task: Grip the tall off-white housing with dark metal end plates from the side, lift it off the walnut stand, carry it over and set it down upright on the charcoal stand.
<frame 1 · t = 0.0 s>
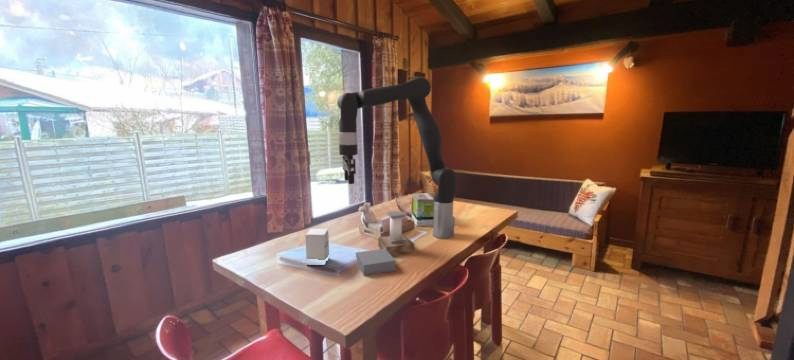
hand: (349, 182, 136), 29 cm above the table, tool pointing down, fingers open, 8 cm apart
stand a: (395, 249, 140), on the table
supplement box: (318, 262, 127), on the table
tea box: (422, 222, 178), on the table
stand b: (375, 266, 123), on the table
housing: (395, 240, 139), point 4 cm above the table, touching stand a
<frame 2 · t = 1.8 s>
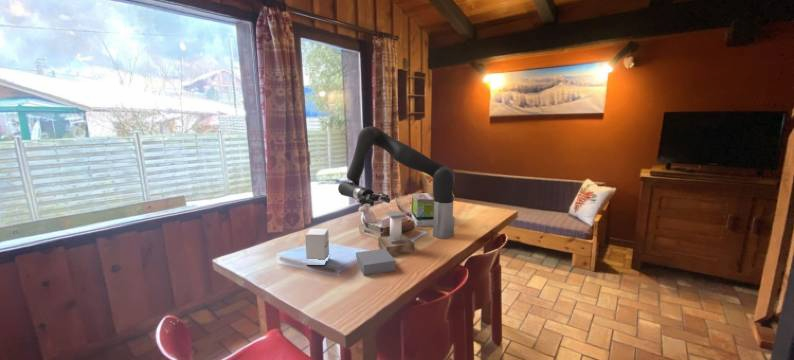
hand: (381, 202, 145), 19 cm above the table, tool horizontal, fingers open, 8 cm apart
nothing on the table moved.
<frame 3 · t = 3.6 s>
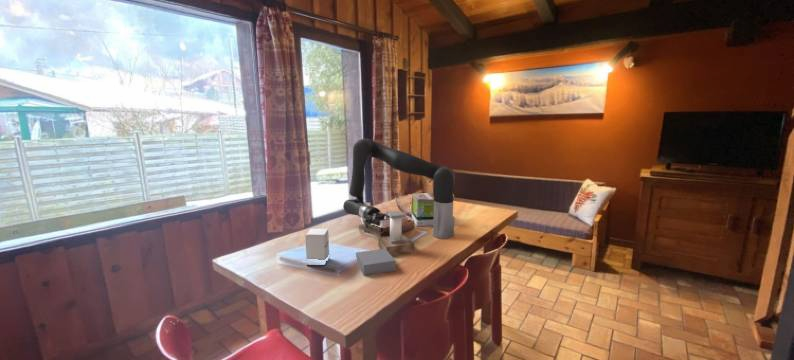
hand: (387, 221, 143), 11 cm above the table, tool horizontal, fingers open, 8 cm apart
nothing on the table moved.
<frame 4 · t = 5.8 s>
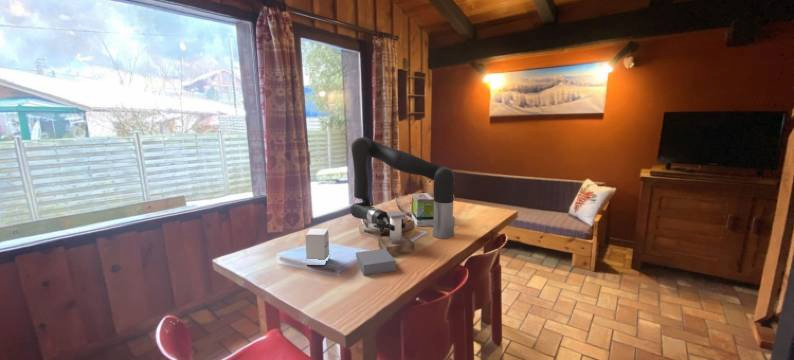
hand: (399, 227, 136), 11 cm above the table, tool horizontal, fingers closed on housing, 5 cm apart
housing: (395, 240, 139), point 4 cm above the table, touching gripper, stand a
everything else where it was.
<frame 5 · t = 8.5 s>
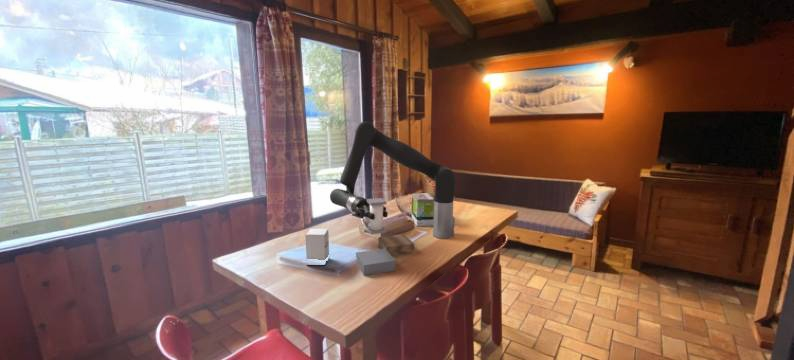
hand: (380, 215, 120), 20 cm above the table, tool horizontal, fingers closed on housing, 5 cm apart
housing: (376, 230, 123), point 13 cm above the table, touching gripper
everything else where it was.
when the fingers open (12 cm above the table, at t = 11.2 s): housing drops 1 cm, resting on stand b.
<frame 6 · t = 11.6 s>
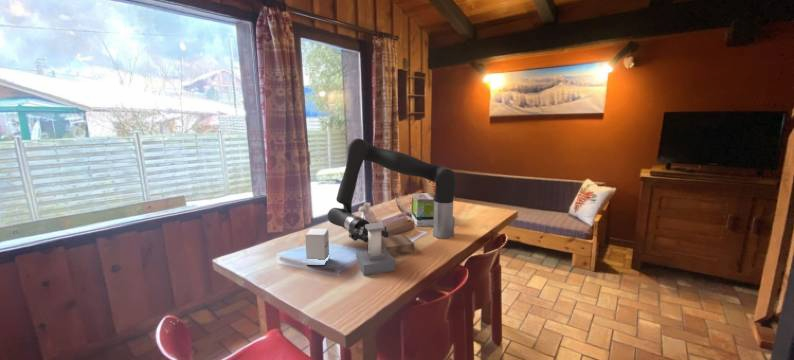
hand: (377, 237, 120), 12 cm above the table, tool horizontal, fingers open, 8 cm apart
housing: (374, 256, 123), point 4 cm above the table, touching stand b
everything else where it was.
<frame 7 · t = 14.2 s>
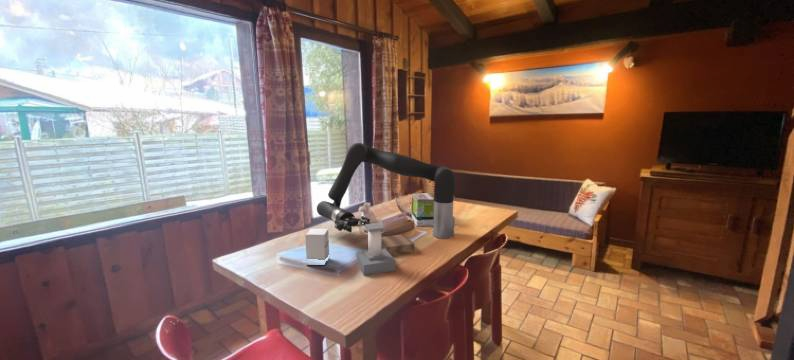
hand: (360, 227, 130), 12 cm above the table, tool horizontal, fingers open, 8 cm apart
nothing on the table moved.
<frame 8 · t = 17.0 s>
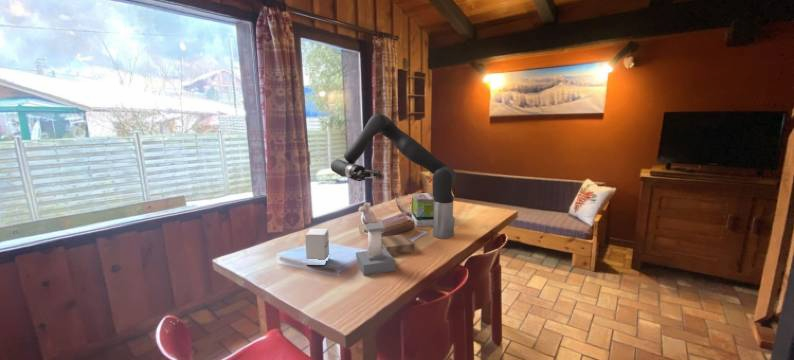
hand: (372, 177, 143), 30 cm above the table, tool horizontal, fingers open, 8 cm apart
nothing on the table moved.
at the end: housing inside the target area on the stand b (0.1 cm from its centre), point 4.0 cm above the stand b's base; housing tilted 0°; the gripper is holding nothing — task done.
